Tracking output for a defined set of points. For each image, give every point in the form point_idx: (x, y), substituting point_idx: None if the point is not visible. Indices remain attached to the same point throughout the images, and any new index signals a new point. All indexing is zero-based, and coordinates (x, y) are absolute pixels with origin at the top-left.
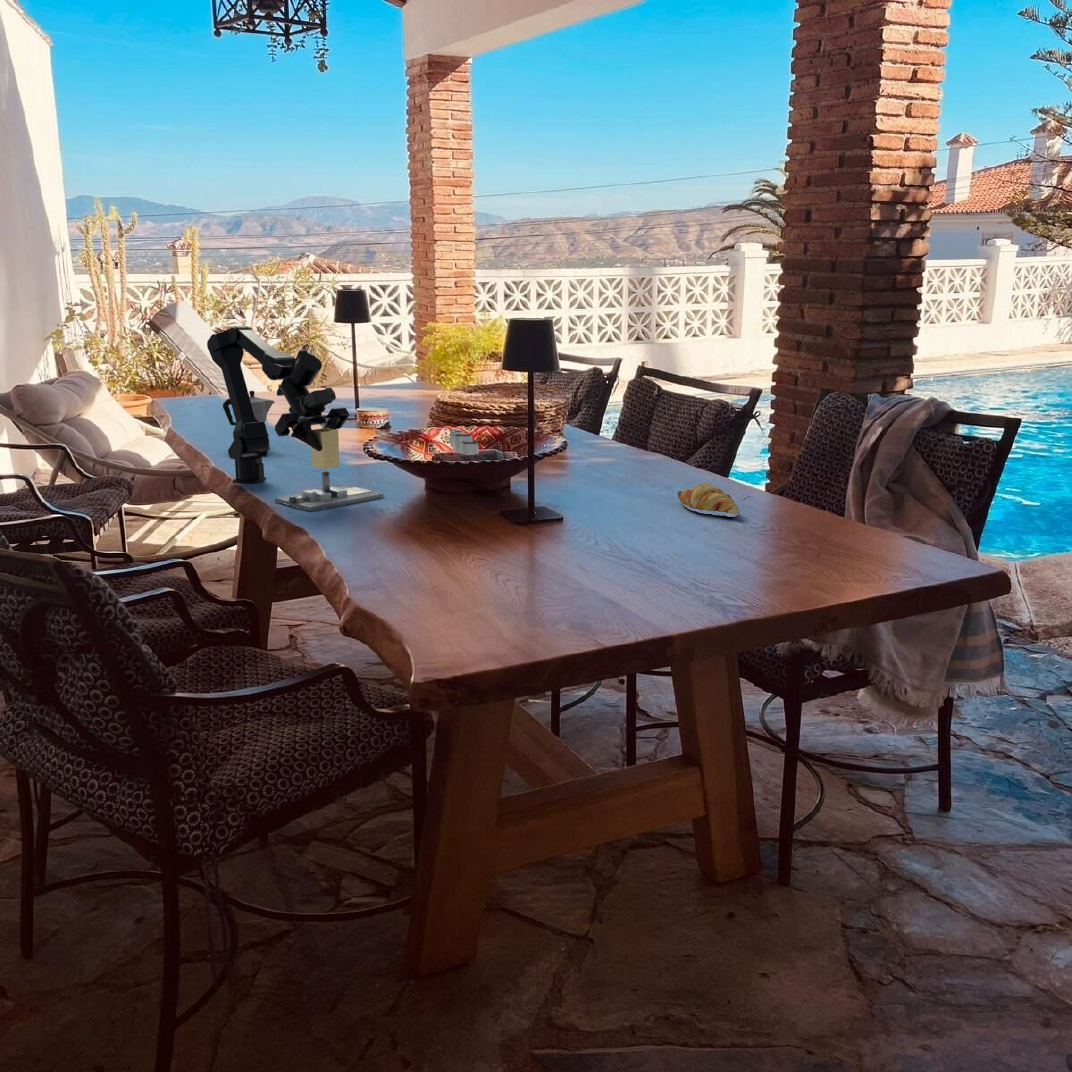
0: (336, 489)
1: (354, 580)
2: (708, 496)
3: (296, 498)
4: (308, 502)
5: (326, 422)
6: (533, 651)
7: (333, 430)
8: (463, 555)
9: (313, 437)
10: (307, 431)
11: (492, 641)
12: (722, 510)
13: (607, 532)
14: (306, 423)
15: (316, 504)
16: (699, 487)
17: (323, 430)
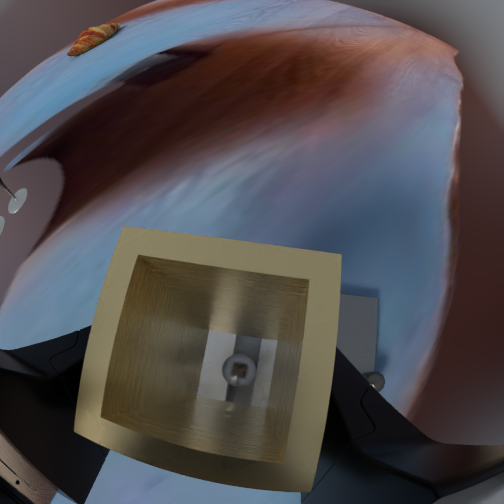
0: (210, 354)
1: (453, 86)
2: (104, 26)
3: (366, 377)
4: (342, 349)
5: (6, 462)
6: (411, 28)
7: (165, 246)
8: (346, 48)
9: (357, 377)
10: (413, 428)
11: (421, 35)
12: (116, 27)
13: (194, 28)
14: (472, 457)
15: (345, 311)
16: (93, 28)
17: (142, 427)
